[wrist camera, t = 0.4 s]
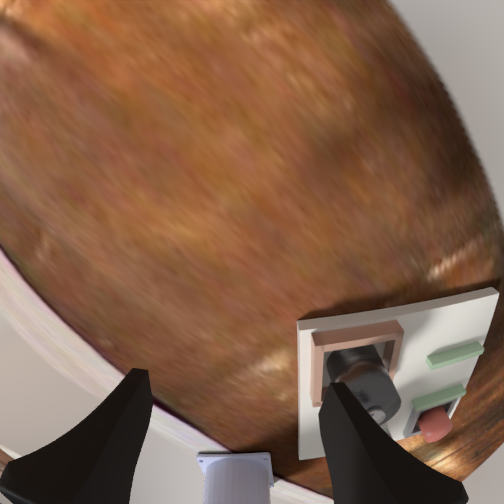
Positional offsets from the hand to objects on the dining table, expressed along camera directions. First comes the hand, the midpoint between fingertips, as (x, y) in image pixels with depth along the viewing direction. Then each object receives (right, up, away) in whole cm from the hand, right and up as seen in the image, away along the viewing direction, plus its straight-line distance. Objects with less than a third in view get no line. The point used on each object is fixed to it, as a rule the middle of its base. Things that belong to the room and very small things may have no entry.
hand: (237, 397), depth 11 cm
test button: (+19, -11, +14) cm, 26 cm away
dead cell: (+8, -2, +10) cm, 13 cm away
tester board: (+14, -6, +14) cm, 20 cm away
